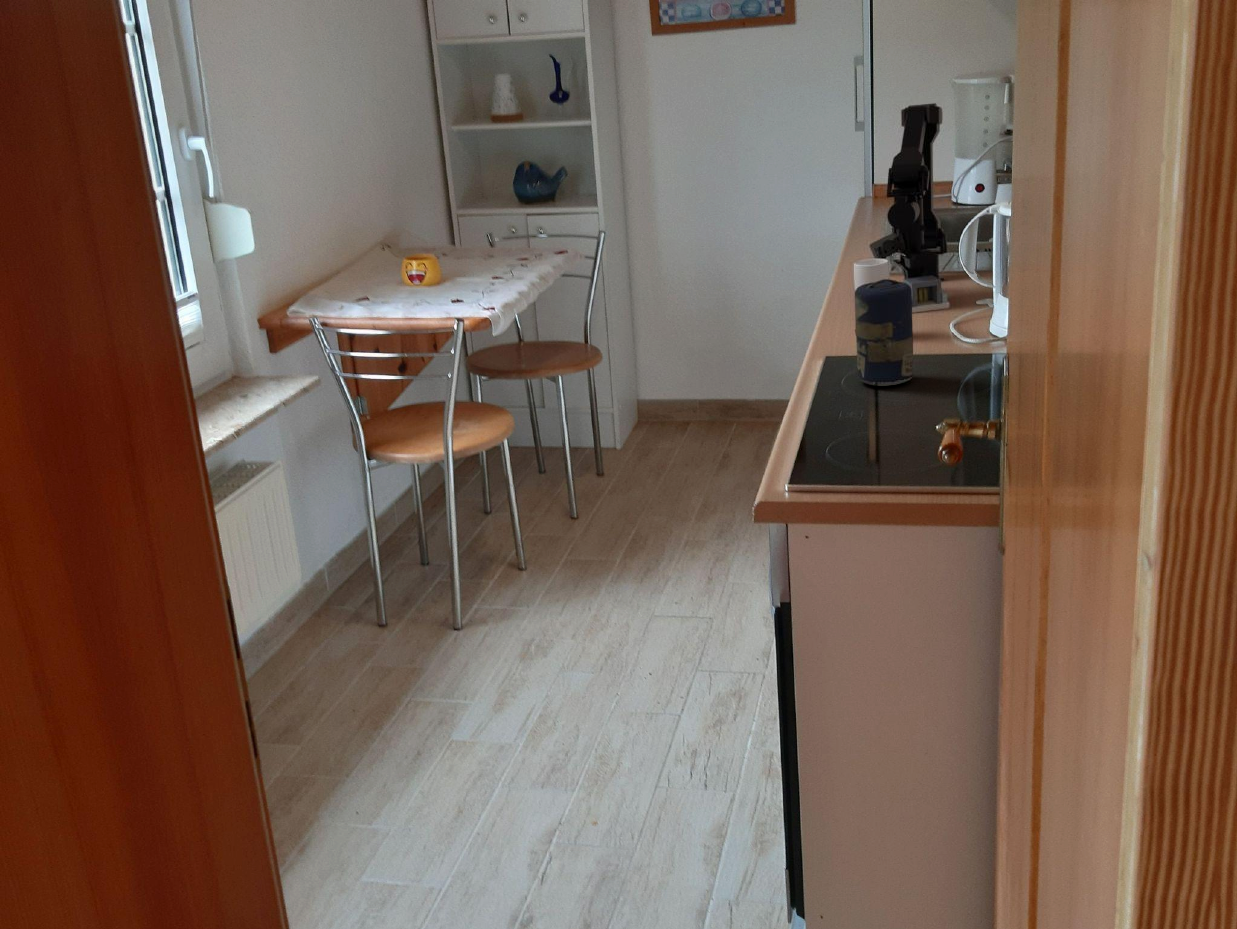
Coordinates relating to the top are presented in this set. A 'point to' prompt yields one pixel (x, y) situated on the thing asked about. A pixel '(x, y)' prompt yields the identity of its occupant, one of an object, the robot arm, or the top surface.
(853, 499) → the top surface
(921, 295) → the board
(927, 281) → the grey block
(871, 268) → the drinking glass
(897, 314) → the canister
